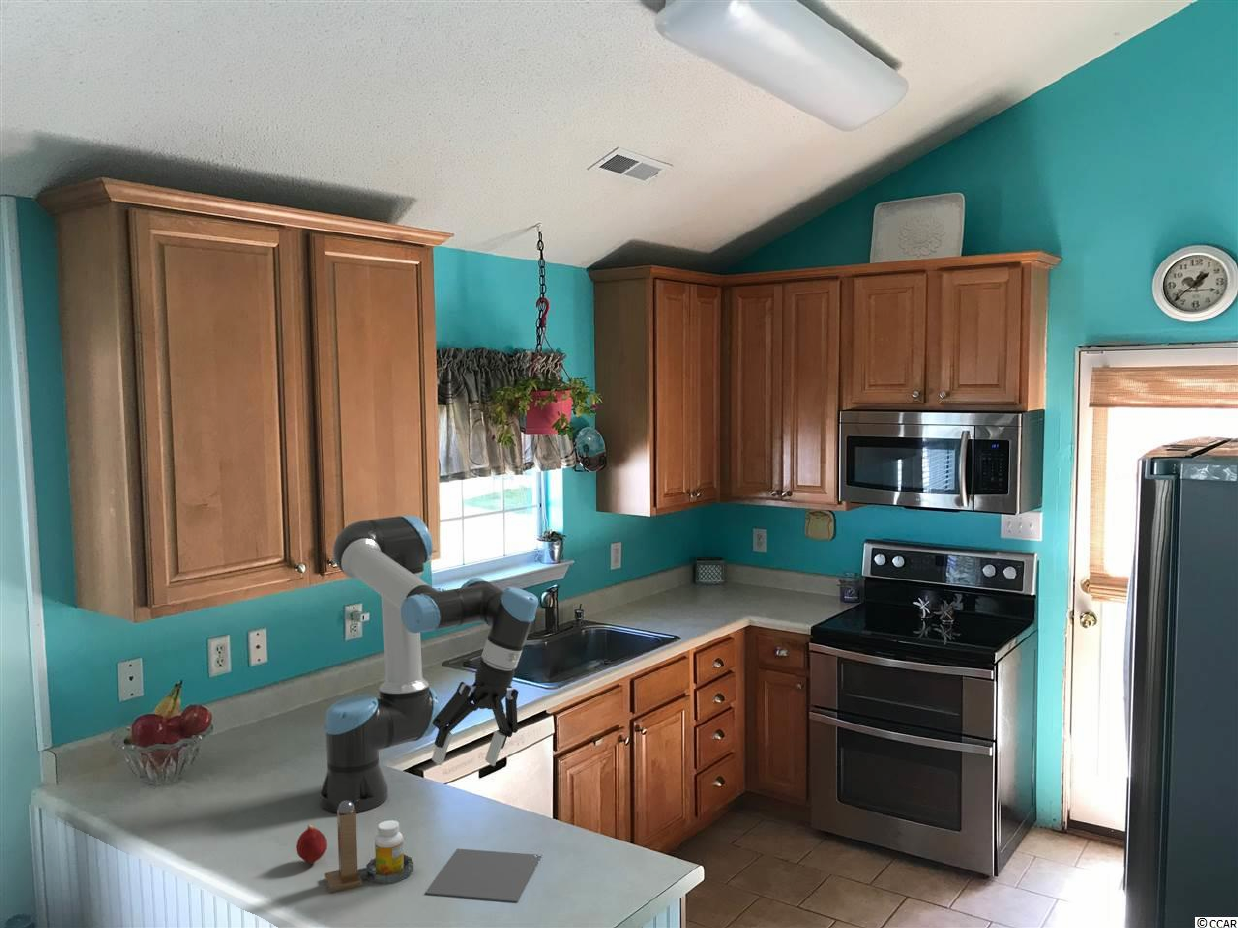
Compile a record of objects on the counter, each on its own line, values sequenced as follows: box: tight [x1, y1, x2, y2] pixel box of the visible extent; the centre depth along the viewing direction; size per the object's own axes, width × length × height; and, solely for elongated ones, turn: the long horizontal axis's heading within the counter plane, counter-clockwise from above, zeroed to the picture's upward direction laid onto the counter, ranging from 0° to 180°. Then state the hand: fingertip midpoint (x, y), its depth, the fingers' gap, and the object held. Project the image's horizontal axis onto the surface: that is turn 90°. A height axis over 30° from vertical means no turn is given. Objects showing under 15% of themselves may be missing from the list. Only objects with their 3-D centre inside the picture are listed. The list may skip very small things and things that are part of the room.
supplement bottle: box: [374, 819, 405, 874], centre depth 191 cm, size 5×5×10 cm
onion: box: [295, 824, 328, 865], centre depth 195 cm, size 6×6×8 cm
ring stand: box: [324, 800, 414, 894], centre depth 189 cm, size 14×16×16 cm
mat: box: [424, 848, 543, 903], centre depth 190 cm, size 18×18×1 cm
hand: (463, 762), depth 197 cm, fingers open, 13 cm apart
